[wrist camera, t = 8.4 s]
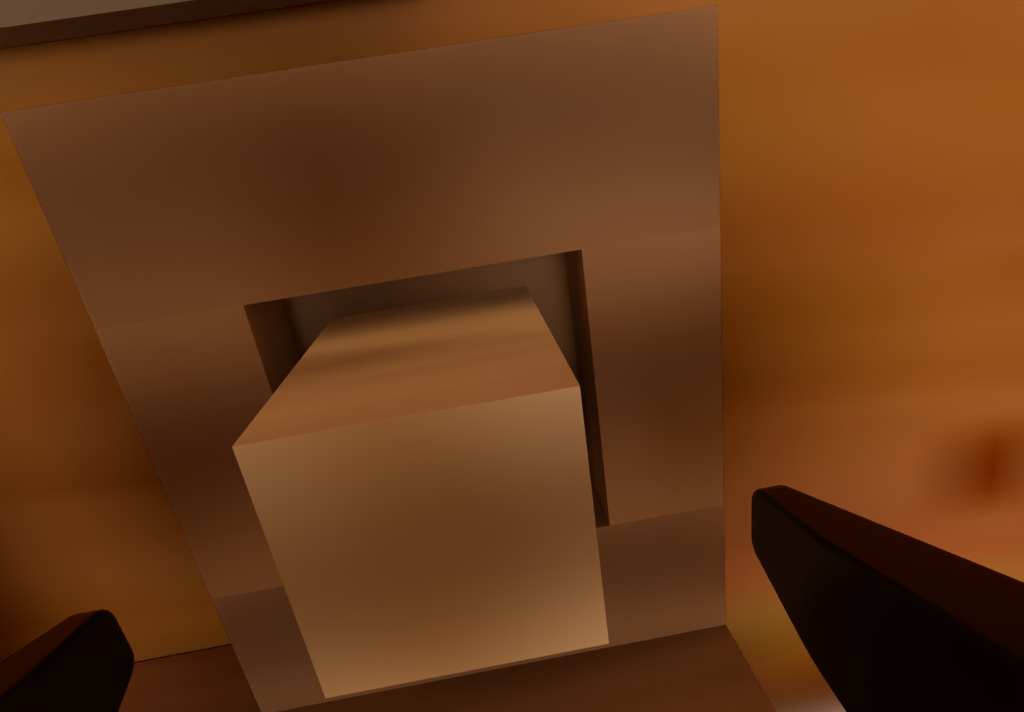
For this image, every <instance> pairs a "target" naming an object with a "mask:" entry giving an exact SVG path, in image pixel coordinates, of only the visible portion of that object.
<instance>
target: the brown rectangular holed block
mask: <svg viewBox="0 0 1024 712" xmlns="http://www.w3.org/2000/svg"><path fill="white" fill-rule="evenodd" d="M0 113H1V115H2V118H3V120H4V122H5V125H6V127H7V129H8V131H9V134H10V136H11V138H12V141H13V143H14V145H15V148H16V150H17V152H18V154H19V157H20V159H21V161H22V164H23V166H24V168H25V171H26V173H27V175H28V177H29V180H30V182H31V184H32V187H33V189H34V191H35V193H36V196H37V198H38V200H39V203H40V205H41V207H42V210H43V212H44V214H45V216H46V219H47V221H48V223H49V226H50V228H51V230H52V233H53V235H54V237H55V239H56V242H57V244H58V246H59V249H60V251H61V253H62V256H63V258H64V260H65V262H66V265H67V267H68V269H69V272H70V274H71V276H72V278H73V281H74V283H75V285H76V288H77V290H78V292H79V295H80V297H81V299H82V301H83V304H84V306H85V308H86V311H87V313H88V315H89V318H90V320H91V322H92V324H93V327H94V329H95V331H96V334H97V336H98V338H99V341H100V343H101V345H102V347H103V350H104V352H105V354H106V357H107V359H108V361H109V364H110V366H111V368H112V370H113V373H114V375H115V377H116V380H117V382H118V384H119V386H120V389H121V391H122V393H123V396H124V398H125V400H126V403H127V405H128V407H129V409H130V412H131V414H132V416H133V419H134V421H135V423H136V426H137V428H138V430H139V432H140V435H141V437H142V439H143V442H144V444H145V446H146V449H147V451H148V453H149V455H150V458H151V460H152V462H153V465H154V467H155V469H156V471H157V474H158V476H159V478H160V481H161V483H162V485H163V488H164V490H165V492H166V494H167V497H168V499H169V501H170V504H171V506H172V508H173V511H174V513H175V515H176V517H177V520H178V522H179V524H180V527H181V529H182V531H183V534H184V536H185V538H186V540H187V543H188V545H189V547H190V550H191V552H192V554H193V556H194V559H195V561H196V563H197V566H198V568H199V570H200V573H201V575H202V577H203V579H204V582H205V584H206V586H207V589H208V591H209V593H210V596H211V598H212V600H213V602H214V605H215V607H216V609H217V612H218V614H219V616H220V619H221V621H222V623H223V625H224V628H225V630H226V632H227V635H228V637H229V639H230V641H231V644H232V645H228V646H223V647H217V648H212V649H207V650H201V651H196V652H191V653H186V654H180V655H175V656H170V657H164V658H159V659H154V660H148V661H143V662H138V663H134V669H133V673H132V676H131V679H130V682H129V684H128V687H127V690H126V693H125V695H124V698H123V701H122V704H121V706H120V709H119V712H776V711H775V709H774V708H773V706H772V704H771V703H770V701H769V699H768V697H767V696H766V694H765V692H764V690H763V689H762V687H761V685H760V683H759V682H758V680H757V678H756V677H755V675H754V673H753V671H752V670H751V668H750V666H749V664H748V663H747V661H746V659H745V657H744V656H743V654H742V652H741V651H740V649H739V647H738V645H737V644H736V642H735V640H734V638H733V637H732V635H731V633H730V631H729V630H728V628H727V626H726V622H725V547H724V472H723V397H722V322H721V247H720V173H719V98H718V23H717V5H715V6H708V7H701V8H694V9H688V10H681V11H674V12H668V13H661V14H654V15H647V16H641V17H634V18H627V19H621V20H614V21H607V22H601V23H594V24H587V25H580V26H574V27H567V28H560V29H554V30H547V31H540V32H533V33H527V34H520V35H513V36H507V37H500V38H493V39H486V40H480V41H473V42H466V43H460V44H453V45H446V46H440V47H433V48H426V49H419V50H413V51H406V52H399V53H393V54H386V55H379V56H372V57H366V58H359V59H352V60H346V61H339V62H332V63H325V64H319V65H312V66H305V67H299V68H292V69H285V70H279V71H272V72H265V73H258V74H252V75H245V76H238V77H232V78H225V79H218V80H211V81H205V82H198V83H191V84H185V85H178V86H171V87H164V88H158V89H151V90H144V91H138V92H131V93H124V94H117V95H111V96H104V97H97V98H91V99H84V100H77V101H71V102H64V103H57V104H50V105H44V106H37V107H30V108H24V109H17V110H10V111H3V112H0ZM521 286H526V288H527V289H528V291H529V293H530V295H531V297H532V299H533V300H534V302H535V304H536V306H537V308H538V310H539V311H540V313H541V315H542V317H543V319H544V321H545V323H546V324H547V326H548V328H549V330H550V332H551V334H552V335H553V337H554V339H555V341H556V343H557V345H558V347H559V348H560V350H561V352H562V354H563V356H564V358H565V359H566V361H567V363H568V365H569V367H570V369H571V370H572V372H573V374H574V376H575V378H576V380H577V382H578V383H579V385H580V391H581V400H582V409H583V418H584V427H585V436H586V444H587V453H588V462H589V471H590V480H591V489H592V498H593V506H594V515H595V524H596V533H597V542H598V551H599V559H600V568H601V577H602V586H603V595H604V604H605V613H606V621H607V630H608V639H609V644H604V645H599V646H594V647H589V648H583V649H578V650H573V651H568V652H563V653H558V654H552V655H547V656H542V657H537V658H532V659H527V660H521V661H516V662H511V663H506V664H501V665H496V666H490V667H485V668H480V669H475V670H470V671H465V672H459V673H454V674H449V675H444V676H439V677H434V678H429V679H423V680H418V681H413V682H408V683H403V684H398V685H392V686H387V687H382V688H377V689H372V690H367V691H361V692H356V693H351V694H346V695H341V696H336V697H330V698H325V695H324V693H323V690H322V687H321V685H320V682H319V679H318V677H317V674H316V671H315V668H314V666H313V663H312V660H311V658H310V655H309V652H308V650H307V647H306V644H305V642H304V639H303V636H302V634H301V631H300V628H299V625H298V623H297V620H296V617H295V615H294V612H293V609H292V607H291V604H290V601H289V599H288V596H287V593H286V591H285V588H284V585H283V582H282V580H281V577H280V574H279V572H278V569H277V566H276V564H275V561H274V558H273V556H272V553H271V550H270V548H269V545H268V542H267V540H266V537H265V534H264V531H263V529H262V526H261V523H260V521H259V518H258V515H257V513H256V510H255V507H254V505H253V502H252V499H251V497H250V494H249V491H248V488H247V486H246V483H245V480H244V478H243V475H242V472H241V470H240V467H239V464H238V462H237V459H236V456H235V454H234V451H233V448H232V446H233V445H234V444H235V442H236V441H237V440H238V438H239V437H240V436H241V435H242V433H243V432H244V431H245V429H246V428H247V427H248V426H249V424H250V423H251V422H252V421H253V419H254V418H255V417H256V415H257V414H258V413H259V412H260V410H261V409H262V408H263V406H264V405H265V404H266V403H267V401H268V400H269V399H270V397H271V396H272V395H273V394H274V392H275V391H276V390H277V388H278V387H279V386H280V385H281V383H282V382H283V381H284V380H285V378H286V377H287V376H288V374H289V373H290V372H291V371H292V369H293V368H294V367H295V365H296V364H297V363H298V362H299V360H300V359H301V358H302V356H303V355H304V354H305V353H306V351H307V350H308V349H309V347H310V346H311V345H312V344H313V342H314V341H315V340H316V339H317V337H318V336H319V335H320V333H321V332H322V331H323V330H324V328H325V327H326V326H327V324H328V323H329V322H330V321H331V319H332V318H336V317H342V316H348V315H354V314H360V313H366V312H372V311H378V310H384V309H390V308H396V307H402V306H408V305H414V304H420V303H425V302H431V301H437V300H443V299H449V298H455V297H461V296H467V295H473V294H479V293H485V292H491V291H497V290H503V289H509V288H515V287H521Z"/></svg>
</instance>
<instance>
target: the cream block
mask: <svg viewBox="0 0 1024 712" xmlns="http://www.w3.org/2000/svg"><path fill="white" fill-rule="evenodd" d="M232 448H233V451H234V454H235V456H236V459H237V462H238V464H239V467H240V470H241V472H242V475H243V478H244V480H245V483H246V486H247V488H248V491H249V494H250V497H251V499H252V502H253V505H254V507H255V510H256V513H257V515H258V518H259V521H260V523H261V526H262V529H263V531H264V534H265V537H266V540H267V542H268V545H269V548H270V550H271V553H272V556H273V558H274V561H275V564H276V566H277V569H278V572H279V574H280V577H281V580H282V582H283V585H284V588H285V591H286V593H287V596H288V599H289V601H290V604H291V607H292V609H293V612H294V615H295V617H296V620H297V623H298V625H299V628H300V631H301V634H302V636H303V639H304V642H305V644H306V647H307V650H308V652H309V655H310V658H311V660H312V663H313V666H314V668H315V671H316V674H317V677H318V679H319V682H320V685H321V687H322V690H323V693H324V695H325V698H330V697H336V696H341V695H346V694H351V693H356V692H361V691H367V690H372V689H377V688H382V687H387V686H392V685H398V684H403V683H408V682H413V681H418V680H423V679H429V678H434V677H439V676H444V675H449V674H454V673H459V672H465V671H470V670H475V669H480V668H485V667H490V666H496V665H501V664H506V663H511V662H516V661H521V660H527V659H532V658H537V657H542V656H547V655H552V654H558V653H563V652H568V651H573V650H578V649H583V648H589V647H594V646H599V645H604V644H609V639H608V630H607V621H606V613H605V604H604V595H603V586H602V577H601V568H600V559H599V551H598V542H597V533H596V524H595V515H594V506H593V498H592V489H591V480H590V471H589V462H588V453H587V444H586V436H585V427H584V418H583V409H582V400H581V391H580V385H579V383H578V382H577V380H576V378H575V376H574V374H573V372H572V370H571V369H570V367H569V365H568V363H567V361H566V359H565V358H564V356H563V354H562V352H561V350H560V348H559V347H558V345H557V343H556V341H555V339H554V337H553V335H552V334H551V332H550V330H549V328H548V326H547V324H546V323H545V321H544V319H543V317H542V315H541V313H540V311H539V310H538V308H537V306H536V304H535V302H534V300H533V299H532V297H531V295H530V293H529V291H528V289H527V288H526V286H521V287H515V288H509V289H503V290H497V291H491V292H485V293H479V294H473V295H467V296H461V297H455V298H449V299H443V300H437V301H431V302H425V303H420V304H414V305H408V306H402V307H396V308H390V309H384V310H378V311H372V312H366V313H360V314H354V315H348V316H342V317H336V318H332V319H331V321H330V322H329V323H328V324H327V326H326V327H325V328H324V330H323V331H322V332H321V333H320V335H319V336H318V337H317V339H316V340H315V341H314V342H313V344H312V345H311V346H310V347H309V349H308V350H307V351H306V353H305V354H304V355H303V356H302V358H301V359H300V360H299V362H298V363H297V364H296V365H295V367H294V368H293V369H292V371H291V372H290V373H289V374H288V376H287V377H286V378H285V380H284V381H283V382H282V383H281V385H280V386H279V387H278V388H277V390H276V391H275V392H274V394H273V395H272V396H271V397H270V399H269V400H268V401H267V403H266V404H265V405H264V406H263V408H262V409H261V410H260V412H259V413H258V414H257V415H256V417H255V418H254V419H253V421H252V422H251V423H250V424H249V426H248V427H247V428H246V429H245V431H244V432H243V433H242V435H241V436H240V437H239V438H238V440H237V441H236V442H235V444H234V445H233V446H232Z"/></svg>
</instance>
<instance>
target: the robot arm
mask: <svg viewBox="0 0 1024 712" xmlns="http://www.w3.org/2000/svg"><path fill="white" fill-rule="evenodd" d="M752 544H753V547H754V550H755V553H756V555H757V557H758V559H759V561H760V563H761V565H762V566H763V568H764V570H765V572H766V574H767V576H768V578H769V580H770V582H771V584H772V585H773V587H774V589H775V591H776V593H777V595H778V597H779V599H780V601H781V603H782V604H783V606H784V608H785V610H786V612H787V614H788V616H789V618H790V620H791V621H792V623H793V625H794V627H795V629H796V631H797V633H798V635H799V637H800V639H801V640H802V642H803V644H804V646H805V648H806V649H807V651H808V653H809V655H810V656H811V658H812V660H813V661H814V663H815V664H816V666H817V668H818V669H819V671H820V672H821V674H822V676H823V677H824V679H825V680H826V682H827V683H828V685H829V686H830V688H831V689H832V691H833V692H834V694H835V695H836V697H837V698H838V700H839V701H840V703H841V704H842V706H843V707H844V709H845V710H846V712H1024V582H1021V581H1019V580H1016V579H1014V578H1011V577H1009V576H1007V575H1004V574H1002V573H999V572H997V571H994V570H992V569H989V568H987V567H984V566H982V565H979V564H977V563H975V562H972V561H970V560H967V559H965V558H962V557H960V556H957V555H955V554H952V553H950V552H947V551H945V550H942V549H940V548H938V547H935V546H933V545H930V544H928V543H925V542H923V541H920V540H918V539H915V538H913V537H910V536H908V535H906V534H903V533H901V532H898V531H896V530H893V529H891V528H888V527H886V526H883V525H881V524H878V523H876V522H873V521H871V520H869V519H866V518H864V517H861V516H859V515H856V514H854V513H851V512H849V511H846V510H844V509H841V508H839V507H837V506H834V505H832V504H829V503H827V502H824V501H822V500H819V499H817V498H814V497H812V496H809V495H807V494H804V493H802V492H800V491H797V490H795V489H792V488H790V487H787V486H784V485H778V486H772V487H767V488H762V489H758V490H756V491H755V492H754V493H753V496H752ZM133 669H134V654H133V651H132V649H131V647H130V645H129V643H128V641H127V639H126V637H125V635H124V633H123V631H122V629H121V627H120V626H119V624H118V622H117V620H116V618H115V616H114V615H113V614H112V613H111V612H110V611H108V610H96V611H90V612H85V613H79V614H75V615H73V616H70V617H69V618H67V619H65V620H64V621H62V622H61V623H59V624H58V625H56V626H55V627H53V628H52V629H50V630H49V631H47V632H46V633H44V634H43V635H41V636H40V637H38V638H37V639H35V640H34V641H32V642H31V643H29V644H28V645H26V646H25V647H23V648H22V649H20V650H19V651H17V652H16V653H14V654H13V655H11V656H10V657H8V658H7V659H5V660H4V661H2V662H1V663H0V712H119V709H120V706H121V704H122V701H123V698H124V695H125V693H126V690H127V687H128V684H129V682H130V679H131V676H132V673H133Z"/></svg>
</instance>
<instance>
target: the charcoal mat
mask: <svg viewBox="0 0 1024 712" xmlns="http://www.w3.org/2000/svg"><path fill="white" fill-rule="evenodd" d="M325 1H332V0H0V48H7V47H14V46H21V45H28V44H35V43H42V42H49V41H56V40H63V39H70V38H76V37H83V36H90V35H97V34H104V33H111V32H118V31H125V30H132V29H139V28H146V27H152V26H159V25H166V24H173V23H180V22H187V21H194V20H201V19H208V18H215V17H222V16H229V15H235V14H242V13H249V12H256V11H263V10H270V9H277V8H284V7H291V6H298V5H305V4H311V3H318V2H325Z"/></svg>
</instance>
